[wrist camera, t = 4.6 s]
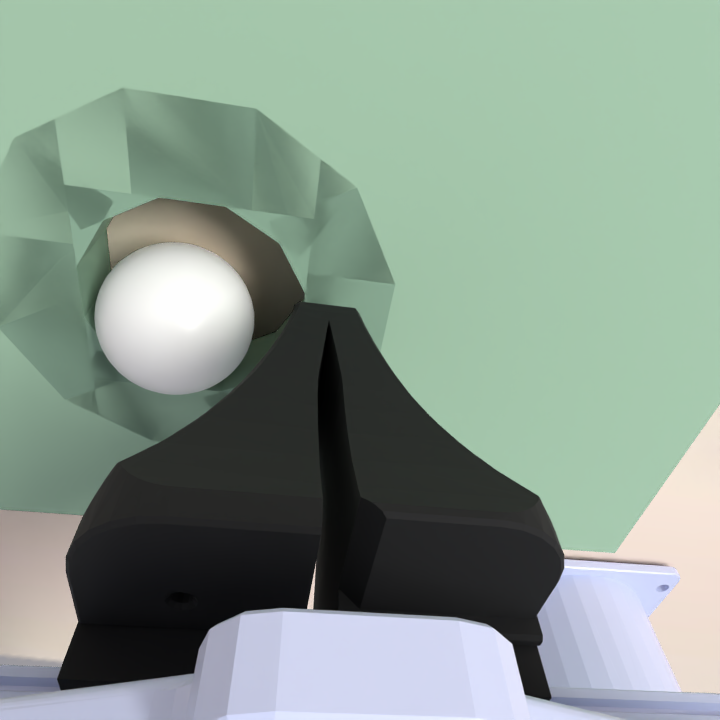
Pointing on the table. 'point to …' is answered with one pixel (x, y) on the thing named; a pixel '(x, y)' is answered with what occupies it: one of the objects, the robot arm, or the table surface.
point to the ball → (174, 318)
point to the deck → (383, 220)
